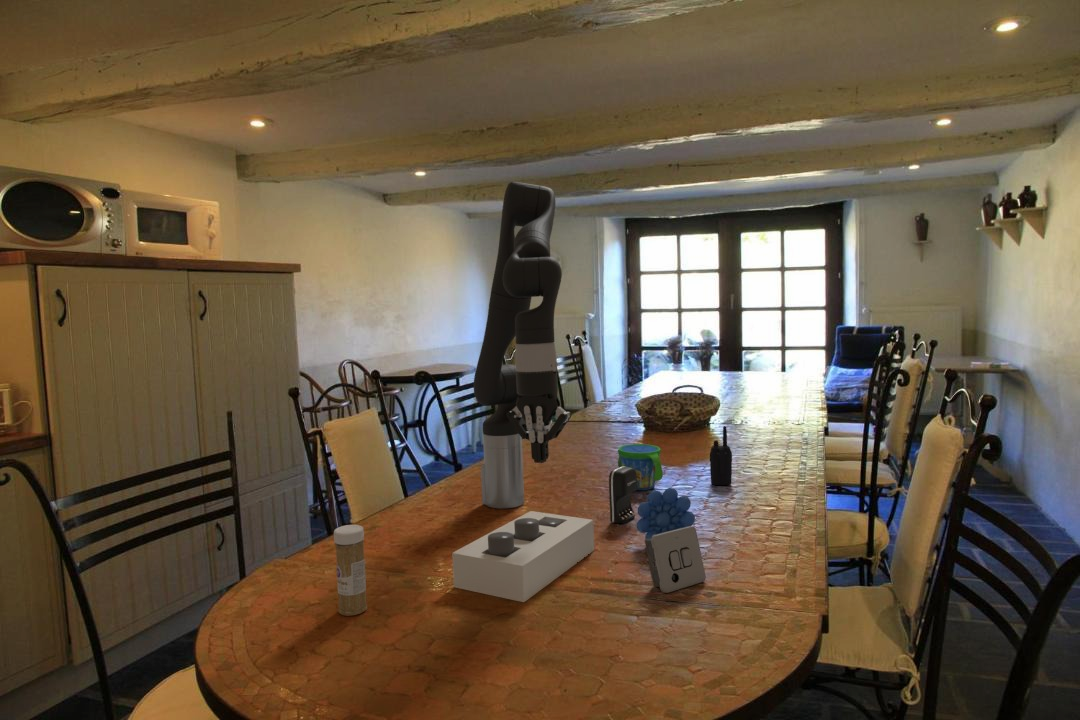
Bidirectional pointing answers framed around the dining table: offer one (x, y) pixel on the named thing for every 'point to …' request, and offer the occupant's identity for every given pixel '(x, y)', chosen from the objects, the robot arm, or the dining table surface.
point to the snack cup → (642, 463)
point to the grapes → (664, 513)
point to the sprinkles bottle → (350, 569)
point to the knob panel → (524, 558)
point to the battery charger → (622, 493)
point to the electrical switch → (675, 559)
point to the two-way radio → (721, 462)
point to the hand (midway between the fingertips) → (540, 462)
